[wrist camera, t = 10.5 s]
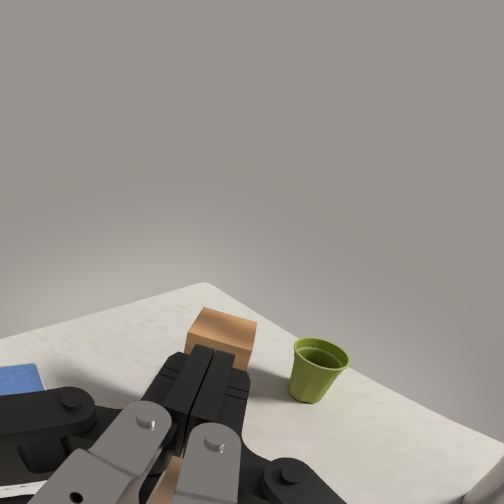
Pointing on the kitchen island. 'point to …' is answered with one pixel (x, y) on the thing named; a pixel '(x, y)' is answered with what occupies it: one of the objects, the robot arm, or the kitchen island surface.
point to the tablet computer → (21, 382)
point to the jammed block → (223, 335)
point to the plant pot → (315, 368)
